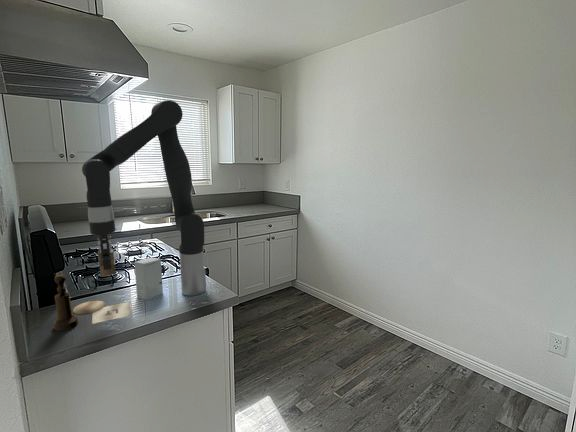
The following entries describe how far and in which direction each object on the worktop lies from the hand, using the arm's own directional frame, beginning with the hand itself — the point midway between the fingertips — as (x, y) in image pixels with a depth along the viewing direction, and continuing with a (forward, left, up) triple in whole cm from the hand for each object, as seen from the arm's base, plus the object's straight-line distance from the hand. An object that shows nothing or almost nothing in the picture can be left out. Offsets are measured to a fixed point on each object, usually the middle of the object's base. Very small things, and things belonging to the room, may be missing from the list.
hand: (107, 266), depth 112 cm
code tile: (0, 0, -17) cm, 17 cm away
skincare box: (-14, -9, -17) cm, 24 cm away
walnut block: (0, 0, -2) cm, 2 cm away
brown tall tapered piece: (+13, +3, -17) cm, 22 cm away
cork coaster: (+7, -8, -17) cm, 20 cm away
